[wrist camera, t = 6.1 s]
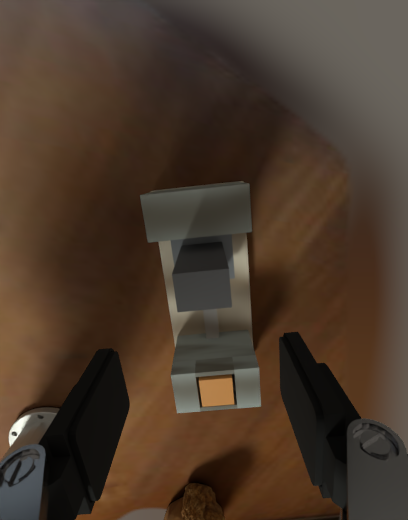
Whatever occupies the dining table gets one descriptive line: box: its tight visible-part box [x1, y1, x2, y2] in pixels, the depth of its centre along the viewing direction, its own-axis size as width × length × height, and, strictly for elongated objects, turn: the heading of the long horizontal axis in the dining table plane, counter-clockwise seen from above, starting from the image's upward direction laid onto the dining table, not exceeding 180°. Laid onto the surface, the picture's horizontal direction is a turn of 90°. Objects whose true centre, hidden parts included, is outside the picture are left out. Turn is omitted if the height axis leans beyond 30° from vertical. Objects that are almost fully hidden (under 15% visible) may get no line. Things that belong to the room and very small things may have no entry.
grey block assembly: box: [140, 181, 261, 413], centre depth 29 cm, size 23×10×8 cm, turn 6°
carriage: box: [170, 234, 235, 312], centre depth 25 cm, size 5×6×12 cm
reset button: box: [199, 374, 234, 407], centre depth 29 cm, size 3×3×2 cm
